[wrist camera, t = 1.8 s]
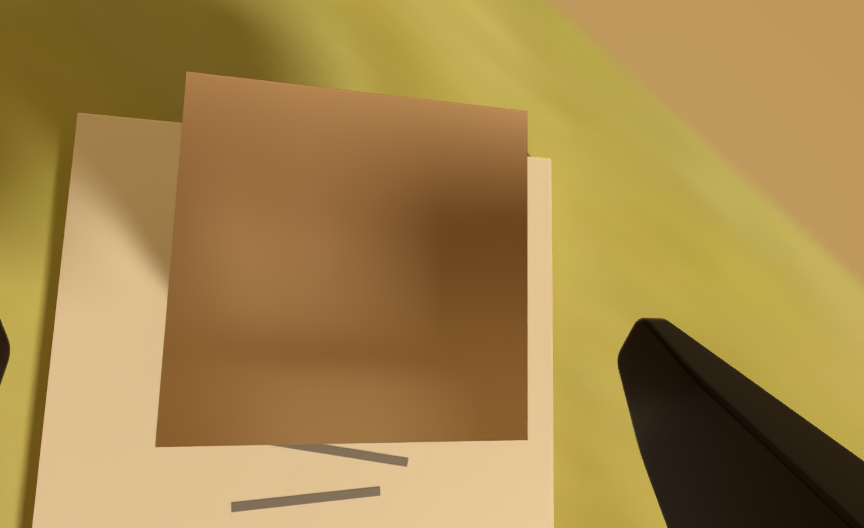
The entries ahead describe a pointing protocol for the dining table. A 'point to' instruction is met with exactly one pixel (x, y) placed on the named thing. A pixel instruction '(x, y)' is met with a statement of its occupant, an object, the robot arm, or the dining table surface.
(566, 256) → the dining table surface
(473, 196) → the block
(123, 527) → the board
